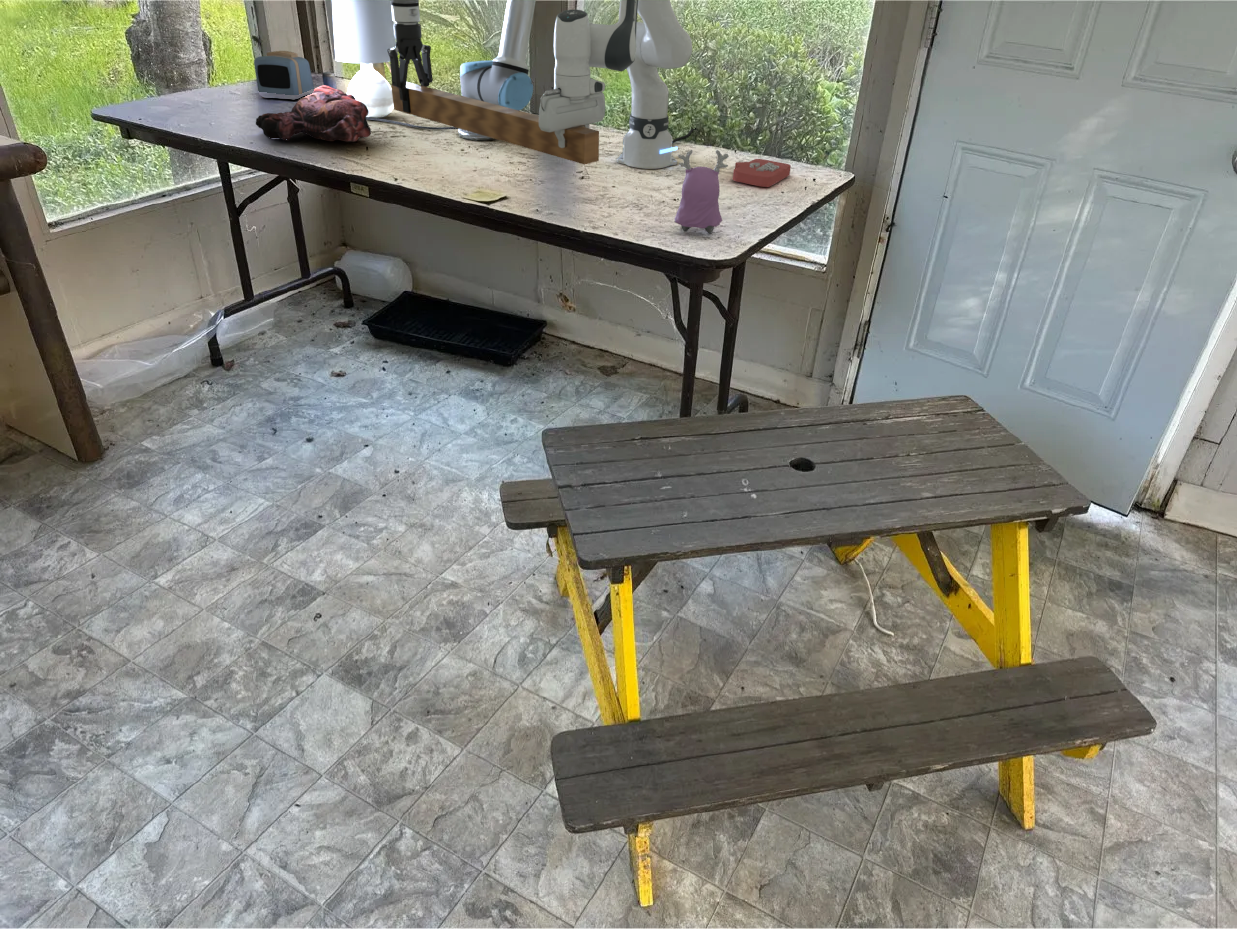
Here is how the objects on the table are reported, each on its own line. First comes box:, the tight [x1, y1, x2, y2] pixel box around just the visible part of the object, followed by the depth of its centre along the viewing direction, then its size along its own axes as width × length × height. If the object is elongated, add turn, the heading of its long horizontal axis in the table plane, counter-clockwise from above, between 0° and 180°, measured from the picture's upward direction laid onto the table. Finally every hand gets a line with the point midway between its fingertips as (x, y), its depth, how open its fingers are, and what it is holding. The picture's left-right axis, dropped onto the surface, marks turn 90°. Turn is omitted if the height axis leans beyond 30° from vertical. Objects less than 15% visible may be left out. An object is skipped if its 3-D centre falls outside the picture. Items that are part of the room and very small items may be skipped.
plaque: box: [732, 158, 792, 188], centre depth 254 cm, size 18×4×15 cm
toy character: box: [674, 149, 730, 234], centre depth 207 cm, size 12×10×20 cm
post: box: [390, 81, 600, 165], centre depth 232 cm, size 79×5×7 cm, turn 48°
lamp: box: [324, 0, 396, 119], centre depth 295 cm, size 22×22×40 cm
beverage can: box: [321, 71, 338, 90], centre depth 314 cm, size 9×8×12 cm
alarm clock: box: [253, 50, 315, 95], centre depth 326 cm, size 16×16×16 cm
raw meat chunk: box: [255, 84, 372, 143], centre depth 275 cm, size 43×30×13 cm
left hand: (415, 110), depth 251 cm, fingers closed on post, 5 cm apart
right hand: (572, 144), depth 214 cm, fingers closed on post, 5 cm apart
